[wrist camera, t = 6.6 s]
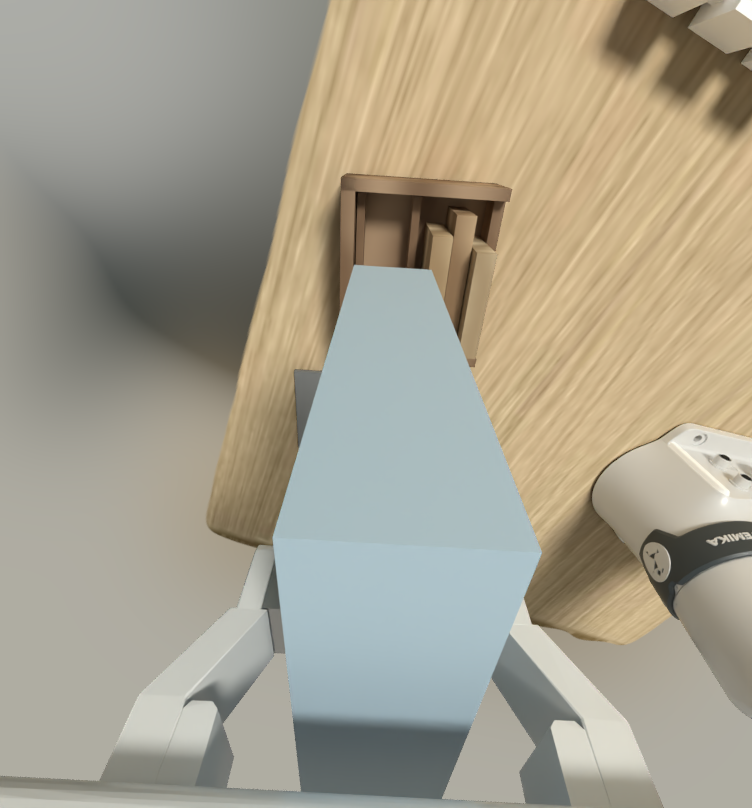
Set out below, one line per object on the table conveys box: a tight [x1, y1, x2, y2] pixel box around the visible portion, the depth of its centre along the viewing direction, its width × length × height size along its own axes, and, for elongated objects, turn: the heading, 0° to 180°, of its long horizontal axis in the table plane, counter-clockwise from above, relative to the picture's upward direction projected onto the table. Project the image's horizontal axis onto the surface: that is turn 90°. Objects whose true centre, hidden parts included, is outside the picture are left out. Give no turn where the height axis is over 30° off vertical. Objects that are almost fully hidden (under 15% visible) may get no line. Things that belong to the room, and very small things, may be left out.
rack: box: [340, 173, 512, 367], centre depth 34 cm, size 12×14×5 cm
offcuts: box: [421, 206, 497, 359], centre depth 32 cm, size 4×10×6 cm, turn 177°
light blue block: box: [272, 265, 542, 799], centre depth 13 cm, size 3×10×14 cm, turn 177°
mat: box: [294, 369, 322, 447], centre depth 45 cm, size 12×10×1 cm
